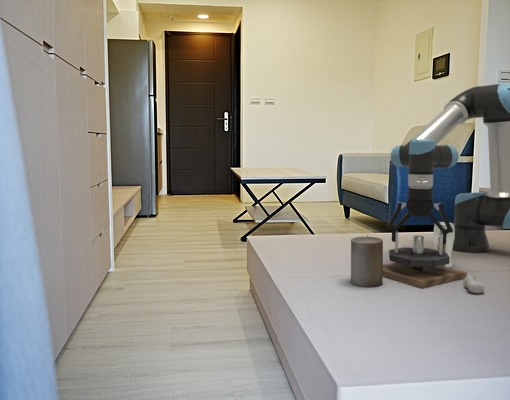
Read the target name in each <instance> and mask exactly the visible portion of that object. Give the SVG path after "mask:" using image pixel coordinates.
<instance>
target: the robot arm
mask: <svg viewBox="0 0 510 400" xmlns="http://www.w3.org/2000/svg"><path fill="white" fill-rule="evenodd" d="M477 118H478V119H479V118H482V122H483V125H485V127H487V135H488V137H487V138H488V142H487V143H488V162H489V183H490V186H489V187H490V189H489V190H488V192H486V191H479V192H466V193H465V192H464V193H459V194H457V195H456V196H455V200H454V217H453V218H454V219H453V223H454V224H455V240H454V245H453V249H452V251H453V250H454V251H459V252H462V253H463V252H466V253H486V252H489V250H490V243H489V239H488V235H487V232H486V227H487V226H488V227H493V228H501V229H504V230H505V229H509V230H510V82H505V83H504V82H503V83H498V84H496V83H495V84H489V85H481V86H480V85H478V86H475V87H470V88H468V89H466V90H464V91H462V92H461V93H459V94H458V95H456V96H455V97H453V98H451V99H450V100H449V101H448V102H447V103H446V104H445V105H444V108H443V110H441V112H440V113H438V115H436V117H434V118H433V119H432V120H431V121H430V122H429V123H428V124H427V125H426V126H425V127H423V128H422V129H421V130H420V131H419V132H418V133H417V134H416V135H414V137H412V138H411V139H410V140H409V141H408V142H407V143H405V144H404V145H403V144H400V145H395V146H394V147H393V148H392V150H391V152H390V160H391V163H392V164H393V166H395V167H399V168H401V167H402V168H408V174H407V175H408V176H407V177H408V179H407V180H408V181H407V185H408V188H407V202H401V201H398V202H397V204H396V208H395V210H394V213H393V214H392V216H391V218H390V219H389V221H388V223H387V225H386V230H387V231H390V232H391V242H392V243H394V249H395V253H398V248H399V231H398V230H399V229H400V228H401V227H402V226H403V225H404V223H406V222H407V221H408V219H410V218H411V217H414V218H415V217H416V218H417V217H422V218H424V217H427V216H428V217H429V219H430V220H431V221H432V222H433V223H434V224H436V226H437V227H438V228H439V229H440V230H441V231H442V233H439V254H440V255H442V248H443V244H446V237H447V234H448V233H450V232H453V229H452V227H451V225H450V223H451V222H450V221H449V219H448V216H447V215H446V213H445V210H444V204H443V203H442V202H438V203H433V195H434V193H433V192H434V189H433V186H434V169H448V168H452V167H455V165H456V164H457V163H458V161H459V152H458V150H457V148H456V147H454V146H453V145H448V144H442V145H441V144H440V145H438V144H439V143H440V142H441V141H442V140H443V139H444V138H445V137H446V136H447V135H449V134H450V132H452V131H453V130H454V129H455V128H456V127H458V125H462V124H464V123H466V121H467V120H471V119H477ZM405 207H406V209H407V210H408V211H407V212H406V213H405V214H404V215H403V216H402V217H401V218H400V220H398V222H397V223H396V224H395V222H396V220H397V218H398V216H399V214H400V212H401V211H402V210H403V209H405ZM434 208H435V210H436V211H438V212H439V216H440V217H441V218H442V220H443V221H442V222H444V223H445V225H446V227H447V229H444V228H443V227H442V225H441V224H440V223H439V222H440V221H438V219H437V218H436V217H435V216H434V215H433V213H431V212H432V211H433V209H434ZM394 224H395V225H394ZM393 225H394V226H393Z"/></svg>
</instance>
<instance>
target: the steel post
mask: <svg viewBox="0 0 510 400" xmlns="http://www.w3.org/2000/svg"><path fill="white" fill-rule="evenodd" d="M412 243H413V246H412V248H413V255H423V254H424V248H425V246H424V245H425V236H424V235H417V234H416V235H413V242H412ZM412 267H413V270H416V271H422V270H423V267H424V266H412Z"/></svg>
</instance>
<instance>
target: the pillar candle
mask: <svg viewBox="0 0 510 400" xmlns="http://www.w3.org/2000/svg"><path fill="white" fill-rule="evenodd" d="M383 257H384V240H383V239H382V238H381V237H375V236H369V235H368V234H367V235H366V236H357V237H352V238H350V283H351V285H352V284H353V285H355V286H358V287H364V288H372V287H373V288H375V287H379V286H382V285H383V276H382V275H383V265H384V263H383V262H384V258H383Z"/></svg>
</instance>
